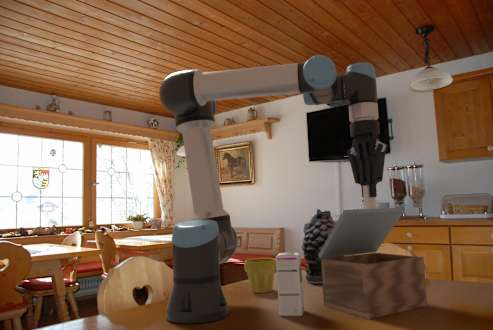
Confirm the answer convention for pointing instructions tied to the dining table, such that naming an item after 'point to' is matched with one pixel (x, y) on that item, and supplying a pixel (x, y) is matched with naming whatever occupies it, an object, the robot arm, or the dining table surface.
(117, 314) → the dining table surface
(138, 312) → the dining table surface
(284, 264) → the syrup box
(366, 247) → the crate lid
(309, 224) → the dark pine cone
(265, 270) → the plant pot
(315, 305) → the dining table surface
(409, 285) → the walnut crate
